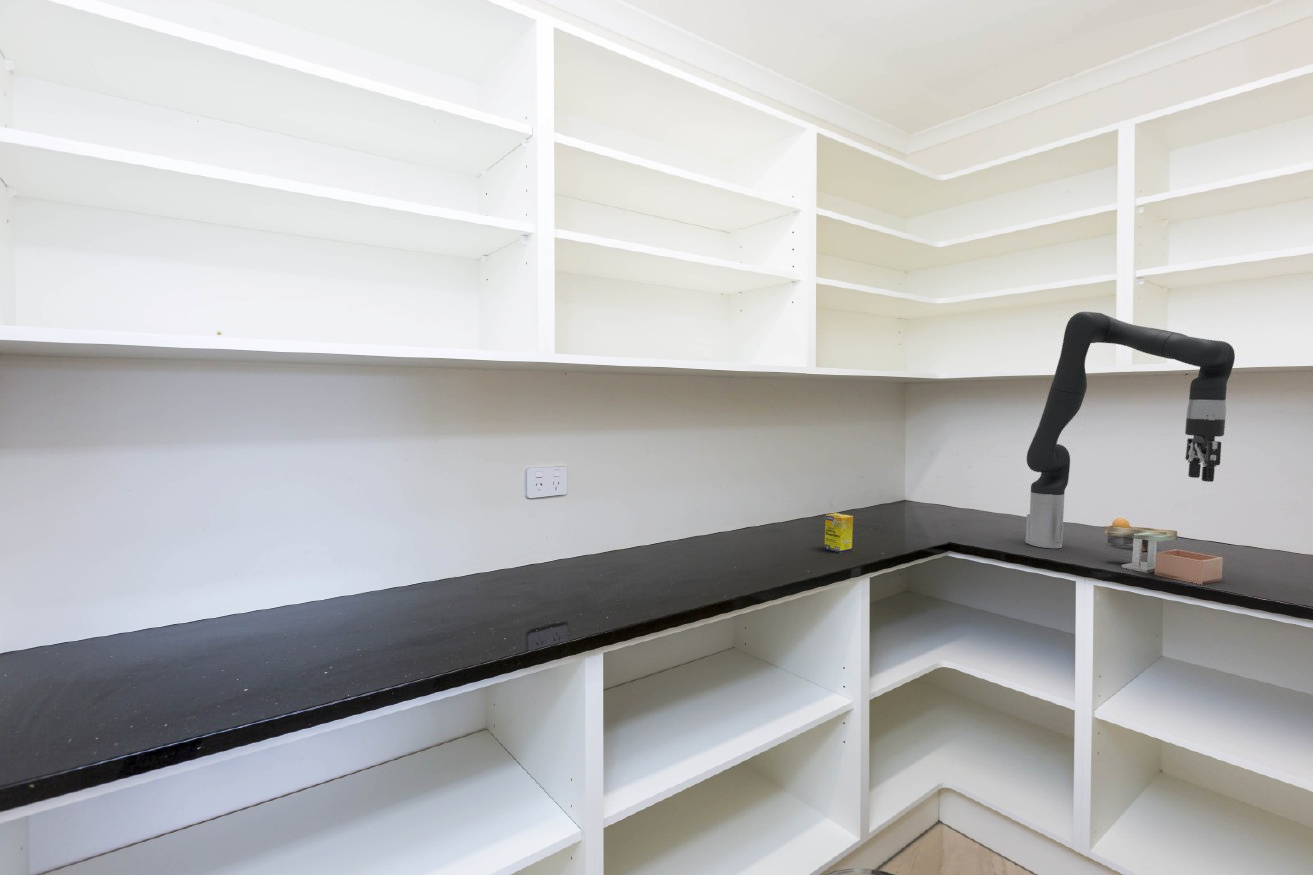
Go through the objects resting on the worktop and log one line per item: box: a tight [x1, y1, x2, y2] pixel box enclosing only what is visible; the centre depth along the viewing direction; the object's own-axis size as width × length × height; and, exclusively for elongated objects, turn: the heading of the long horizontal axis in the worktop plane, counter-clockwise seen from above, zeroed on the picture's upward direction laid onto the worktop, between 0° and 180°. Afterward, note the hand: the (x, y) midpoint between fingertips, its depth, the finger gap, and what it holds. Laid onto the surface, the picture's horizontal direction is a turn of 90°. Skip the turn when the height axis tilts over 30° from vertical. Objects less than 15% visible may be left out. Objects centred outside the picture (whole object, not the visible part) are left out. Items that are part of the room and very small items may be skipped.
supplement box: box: [824, 512, 854, 554], centre depth 185 cm, size 6×6×11 cm
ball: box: [1111, 517, 1131, 528], centre depth 173 cm, size 4×4×4 cm
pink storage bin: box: [1154, 548, 1224, 586], centre depth 159 cm, size 10×10×6 cm
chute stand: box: [1121, 533, 1158, 574], centre depth 168 cm, size 6×10×10 cm, turn 116°
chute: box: [1103, 524, 1178, 546], centre depth 167 cm, size 17×13×5 cm
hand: (1200, 479), depth 157 cm, fingers open, 8 cm apart
